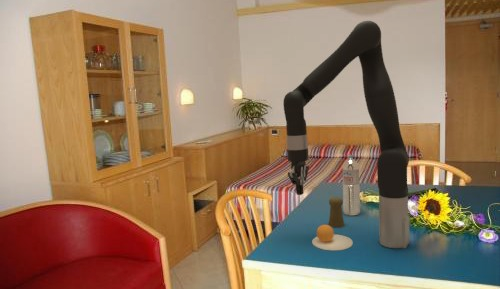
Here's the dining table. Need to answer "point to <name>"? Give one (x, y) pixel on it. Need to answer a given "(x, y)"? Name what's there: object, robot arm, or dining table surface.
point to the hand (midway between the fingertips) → (299, 194)
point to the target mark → (333, 243)
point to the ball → (325, 233)
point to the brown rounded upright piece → (336, 212)
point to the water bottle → (351, 187)
